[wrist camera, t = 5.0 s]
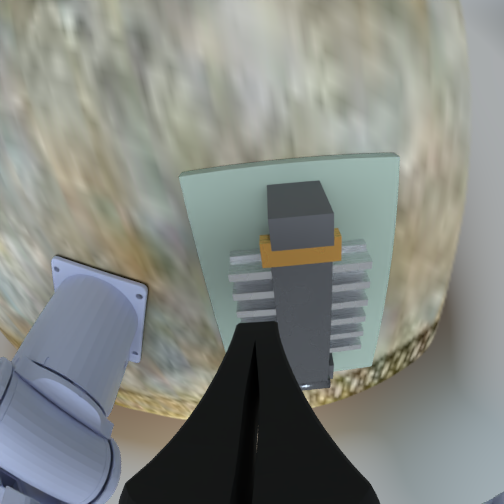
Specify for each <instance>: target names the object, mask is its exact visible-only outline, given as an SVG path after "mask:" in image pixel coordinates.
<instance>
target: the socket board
mask: <svg viewBox="0 0 504 504" xmlns="http://www.w3.org/2000/svg"><path fill="white" fill-rule="evenodd" d="M399 163H400V157H399V156H398V155H397V154H395V153H370V154H348V155H330V156H316V157H303V158H291V159H280V160H270V161H261V162H252V163H244V164H235V165H228V166H220V167H213V168H206V169H199V170H192V171H186V172H182V173H181V175H180V176H179V180H180V184H181V188H182V192H183V197H184V201H185V205H186V209H187V213H188V217H189V221H190V225H191V229H192V233H193V237H194V241H195V245H196V249H197V253H198V256H199V260H200V264H201V268H202V271H203V275H204V279H205V282H206V286H207V290H208V293H209V297H210V300H211V304H212V307H213V311H214V314H215V318H216V321H217V325H218V328H219V332H220V335H221V338H222V342H223V345H224V348H225V351H226V352H227V350H228V347H229V345H230V342H231V340H232V337H233V334H234V331H235V328H236V325H237V324H238V323H240V320H241V318H237V313H236V309H237V301H234V300H233V296H232V292H233V284H234V282H229V278H228V272H229V265H230V251H240V250H250V249H260V245H259V239H260V235H267V234H270V242H271V250H272V251H282V250H293V249H304V248H314V247H325V246H334V228H338V229H339V231H340V234H341V236H342V241H346V240H357V239H364V240H365V242H366V249H367V251H368V253H369V255H370V257H371V259H372V261H373V263H372V269H366V272H367V274H368V276H369V279H370V288H366V289H365V292H366V295H367V297H368V305H367V306H363V308H364V311H365V314H366V319H365V322H361V323H362V327H363V330H364V332H363V336H359V337H360V341H361V349H356V350H349V351H341V352H333V353H330V354H329V369H328V375H329V376H330V379H333V371H341V370H348V369H355V368H362V367H369V366H372V361H373V357H374V353H375V348H376V344H377V339H378V335H379V330H380V325H381V320H382V315H383V309H384V304H385V298H386V292H387V286H388V279H389V273H390V266H391V258H392V251H393V242H394V233H395V223H396V212H397V200H398V184H399Z"/></svg>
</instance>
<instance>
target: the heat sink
mask: <svg viewBox="0 0 504 504" xmlns="http://www.w3.org/2000/svg"><path fill="white" fill-rule="evenodd" d="M372 263H373V261H372V259H371V257H370V255H369V253H368V251H367V249H366V242H365V240H364V239H357V240H346V241H342V253H341V261H334V262H333V273H332V313H331V336H330V353H333V352H341V351H349V350H356V349H361V341H360V337H359V336H363V332H364V330H363V327H362V323H361V322H365V319H366V314H365V311H364V308H363V306H367V305H368V297H367V295H366V292H365V289H366V288H370V279H369V276H368V274H367V272H366V269H372ZM228 278H229V282H234V284H233V292H232V296H233V300H234V301H237V309H236V313H237V318H241V320H240V323H248V322H265V321H276V322H277V316H276V307H275V298H274V290H273V281H272V273H271V268H263V267H262V260H261V253H260V249H250V250H240V251H230V265H229V272H228Z"/></svg>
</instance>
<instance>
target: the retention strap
mask: <svg viewBox="0 0 504 504" xmlns="http://www.w3.org/2000/svg"><path fill="white" fill-rule="evenodd" d="M259 245H260V253H261V260H262V267H263V268H271V273H272V281H273V290H274V298H275V307H276V316H277V323H278V329H279V334H280V338H281V342H282V345H283V348H284V351H285V354H286V357H287V359H288V362H289V364H290V367H291V369H292V371H293V374H294V376H295V378H296V380H297V382H298V384H299V386H300V388H301V390H311V389H321V388H330V376H329V375H328V369H329V354H330V336H331V313H332V273H333V262H334V261H341V253H342V236H341V234H340V231H339V229H338V228H334V246H325V247H314V248H304V249H293V250H282V251H272V250H271V242H270V234H267V235H260V239H259Z"/></svg>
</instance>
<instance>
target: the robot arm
mask: <svg viewBox="0 0 504 504" xmlns="http://www.w3.org/2000/svg"><path fill="white" fill-rule="evenodd" d="M51 265H52V274H53V282H54V290H55V293H54V295H53V296H52V297H51V299H50V300H49V302H48V303H47V305H46V306H45V308H44V309H43V311H42V312H41V314H40V315H39V317H38V319H37V320H36V322H35V323H34V325H33V326H32V328H31V330H30V331H29V333H28V334H27V336H26V338H25V339H24V341H23V343H22V344H21V346H20V348H19V349H18V351H17V353H16V354H15V356H14V358H13V360H12V361H9V360H8V359H7V358H5V357H1V358H0V504H105V503H106V502H107V501H108V500H109V499H110V497H111V496H112V495H113V493H114V492H115V490H116V488H117V485H118V483H119V479H120V474H121V455H120V450H119V447H118V445H117V443H116V442H115V441H114V439H113V438H111V437H110V436H111V433H112V429H113V426H114V424H113V423H111V422H110V421H109V420H108V419H107V417H108V415H109V414H110V412H111V410H112V408H113V405H114V402H115V399H116V396H117V393H118V390H119V387H120V384H121V381H122V378H123V375H124V373H125V370H126V367H127V364H128V361H132V362H135V363H138V362H140V360H141V352H142V340H143V329H144V320H145V310H146V302H147V294H148V288H147V287H146V286H145V285H144V284H142V283H139V282H135V281H132V280H129V279H126V278H122V277H119V276H116V275H113V274H110V273H107V272H103V271H100V270H97V269H94V268H91V267H88V266H85V265H82V264H79V263H76V262H73V261H70V260H67V259H64V258H61V257H59V256H54V257H53V259H52V260H51ZM57 267H58V268H59V269H58V268H57ZM139 294H140V295H142V296H140V295H139ZM257 434H258V440H257ZM119 504H380V502H379V499H378V497H377V495H376V493H375V491H374V489H373V488H372V486H371V484H370V483H369V481H368V480H367V479H366V478H365V477H363V475H362V474H361V473H360V472H359V471H358V470H357V469H356V468H355V467H354V466H353V465H352V463H351V462H350V461H349V460H348V459H347V457H346V456H345V455H344V454H343V452H342V451H341V450H340V449H339V447H338V446H337V445H336V443H335V442H334V441H333V440H332V438H331V437H330V435H329V434H328V433H327V431H326V430H325V428H324V427H323V425H322V424H321V422H320V421H319V419H318V418H317V416H316V415H315V413H314V412H313V410H312V408H311V406H310V405H309V403H308V401H307V399H306V398H305V396H304V394H303V392H302V390H301V388H300V386H299V384H298V382H297V380H296V378H295V376H294V374H293V371H292V369H291V367H290V364H289V362H288V359H287V357H286V354H285V351H284V348H283V345H282V342H281V338H280V334H279V329H278V323H277V322H276V321H265V322H248V323H238V324H237V325H236V328H235V331H234V334H233V337H232V340H231V342H230V345H229V347H228V350H227V352H226V354H225V356H224V359H223V361H222V363H221V365H220V367H219V369H218V371H217V373H216V375H215V377H214V378H213V380H212V382H211V384H210V386H209V387H208V389H207V391H206V393H205V394H204V396H203V397H202V399H201V401H200V402H199V404H198V405H197V407H196V408H195V410H194V411H193V412H192V414H191V415H190V417H189V418H188V419H187V421H186V422H185V423H184V425H183V426H182V427H181V428H180V430H179V431H178V432H177V434H176V435H175V436H174V437H173V438H172V439H171V440H170V442H169V443H168V444H167V445H166V446H165V447H164V448H163V449H162V450H161V451H160V452H159V453H158V454H157V456H155V457H154V458H153V459H152V460H151V461H150V462H149V463H148V464H147V465H146V466H145V467H144V468H142V469H141V470H140V471H139V472H138V473H137V474H135V475H134V476H133V477H132V478H131V479H130V480H128V481H127V482H126V483H125V486H124V488H123V491H122V494H121V496H120V499H119ZM482 504H504V492H502V493H500V494H499V495H497V496H496V497H494V498H493V499H491V500H489V501H487V502H484V503H482Z"/></svg>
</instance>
